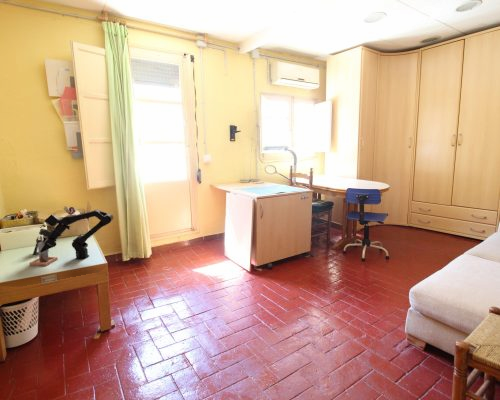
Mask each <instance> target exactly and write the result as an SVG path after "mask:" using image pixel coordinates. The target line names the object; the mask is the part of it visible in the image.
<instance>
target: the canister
mask: <svg viewBox="0 0 500 400" xmlns="http://www.w3.org/2000/svg"><path fill="white" fill-rule="evenodd" d="M44 245H45V242H39V243H38V249H37V252H39V255H38V258H39V261H40V263H46V262H48V261H49V258H48V257H49V252H48V250H49V249H48V250H46V251H43V252H40V250H41V249H42V247H43V246H44Z"/></svg>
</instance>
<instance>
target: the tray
mask: <svg viewBox="0 0 500 400" xmlns="http://www.w3.org/2000/svg"><path fill="white" fill-rule="evenodd" d="M48 258H49V261H48V262H46V263H40V261H39V257H38V258H36V259H34V260H32V261H30V262H29V264H28V265H29V266H33V267H34V266H35V267H36V266H37V267H47V266H49V265H50V264H53V263H54V262H56V261H58V259H59V257H58V256H48Z"/></svg>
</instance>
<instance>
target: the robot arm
mask: <svg viewBox="0 0 500 400" xmlns="http://www.w3.org/2000/svg"><path fill="white" fill-rule="evenodd" d="M93 217H94V218H97V219H98V220H99V222H98V223H97V224H96V225H94V226H93V227H91V228H90V229H89V230H88V231H87V232H86V233H84V234H83V235H82V234H79V235H78V236H77V237H76V238H74V239H73V240H72V242H71V247H72V248H73V249H74V251H75V260H85V259H87V258H88V257H90V254H89V251H88V246H89V244H88V243H87V241H88V240H89V238H91V237H92V236H93V235H94V234H95V233H97V232H98V231H99V230H100V229H101V228H103V227H105V226H107V225H109V224H111V222H112V221H113V220H114V216H113V214H111V213H107V212H104V211H101V210H99V209H95V210H91V211H87V212H82V213H79V214H68V215H65V216H64V217H61V218H59V217H57V216H55V214H53V213H52V214H50V215H49V216H48V217H47V218H46V219H44V223H46V224H47V225H48V226H50V227H54V228H52V229H51V230H50V229H45V228H40V230H39V232H38V234H39V235H40V236H42V240H43V241H42V242H45V245H44V246H43V247H42V249H41V250H40V252H43V251H46V250H50V249H53V248H55V247H56V246H57V240H58V238H59V237H61V236H62V234H63V233H64V232H65V231H66V230H71V224H74V223H76V222H78V221H82V220H86V219H88V218H93Z"/></svg>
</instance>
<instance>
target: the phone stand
mask: <svg viewBox="0 0 500 400" xmlns="http://www.w3.org/2000/svg"><path fill="white" fill-rule="evenodd" d="M35 241H36V243H35V246H34V250H33V253H32V256H33V257H34V256H39V251H38V243H39V242H42V241H43V236H42V235H40V236H37V237H36V239H35ZM49 250H50V249H48V253H49V252H50V251H49Z"/></svg>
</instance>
